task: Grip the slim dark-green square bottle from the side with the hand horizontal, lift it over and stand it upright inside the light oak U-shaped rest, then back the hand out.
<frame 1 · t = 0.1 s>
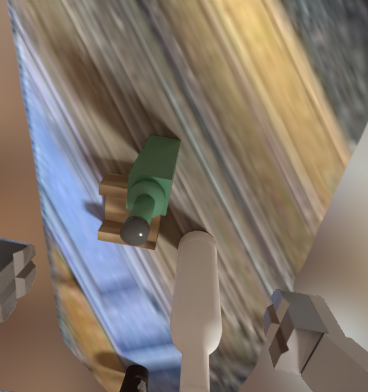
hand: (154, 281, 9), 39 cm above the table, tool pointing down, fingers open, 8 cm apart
coffee mug: (139, 373, 82), on the table
bottle: (197, 244, 58), on the table
oak rest: (134, 205, 53), on the table
green bottle: (163, 151, 48), on the table
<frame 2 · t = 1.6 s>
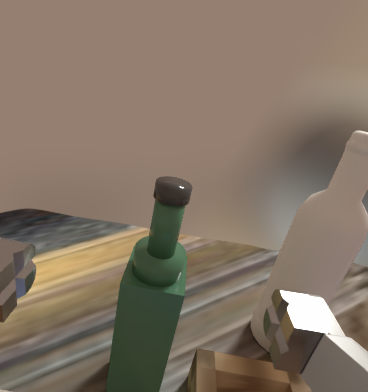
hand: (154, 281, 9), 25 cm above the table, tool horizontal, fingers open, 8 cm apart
bottle: (275, 335, 40), on the table
green bottle: (134, 380, 30), on the table
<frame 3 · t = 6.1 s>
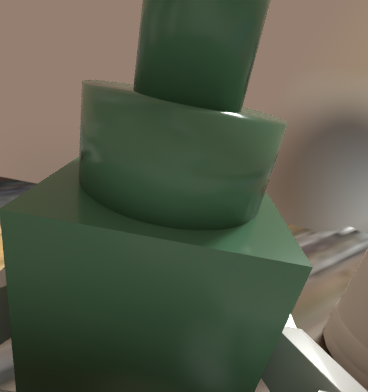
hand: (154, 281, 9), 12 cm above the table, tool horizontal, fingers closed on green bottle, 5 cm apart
when the fingers open (14 cm above the table, at t = 9.9 s): green bottle drops 1 cm, resting on oak rest.
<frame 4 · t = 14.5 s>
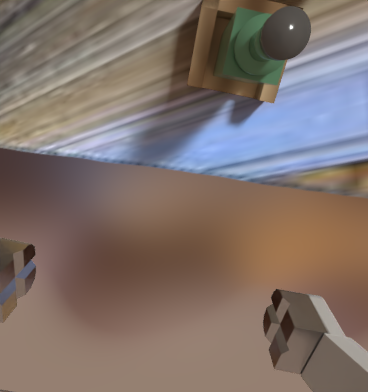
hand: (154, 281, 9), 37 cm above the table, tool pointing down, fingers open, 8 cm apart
oak rest: (236, 52, 39), on the table
green bottle: (234, 59, 39), point 1 cm above the table, touching oak rest
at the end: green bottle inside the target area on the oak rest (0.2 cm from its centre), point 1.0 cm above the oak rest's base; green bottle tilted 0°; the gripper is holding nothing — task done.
